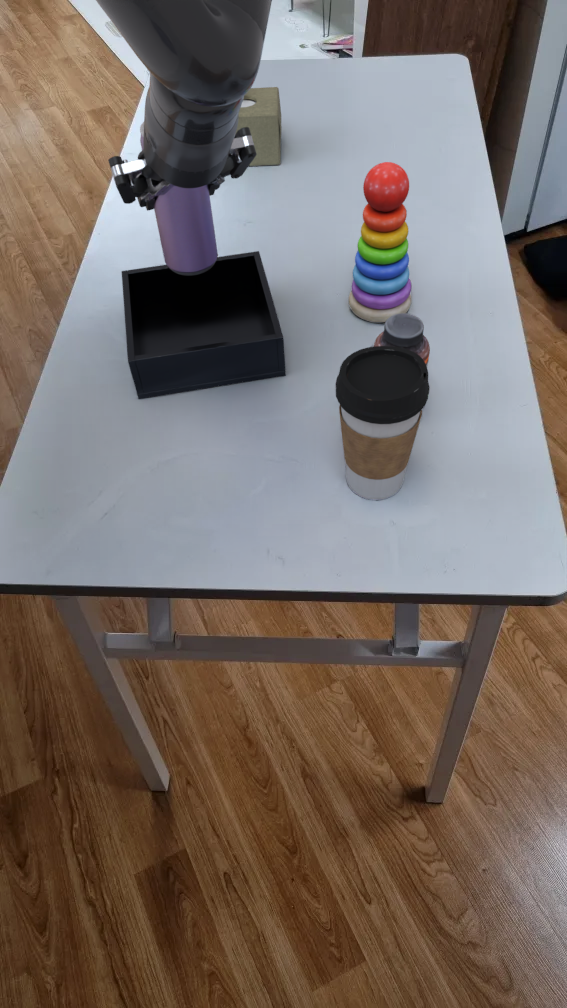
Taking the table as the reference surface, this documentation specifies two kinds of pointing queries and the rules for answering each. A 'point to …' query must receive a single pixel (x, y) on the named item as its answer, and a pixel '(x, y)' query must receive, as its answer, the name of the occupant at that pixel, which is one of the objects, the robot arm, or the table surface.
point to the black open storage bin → (201, 327)
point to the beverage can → (185, 228)
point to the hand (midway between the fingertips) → (177, 193)
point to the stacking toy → (382, 247)
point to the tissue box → (263, 124)
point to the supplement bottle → (405, 335)
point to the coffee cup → (380, 416)
